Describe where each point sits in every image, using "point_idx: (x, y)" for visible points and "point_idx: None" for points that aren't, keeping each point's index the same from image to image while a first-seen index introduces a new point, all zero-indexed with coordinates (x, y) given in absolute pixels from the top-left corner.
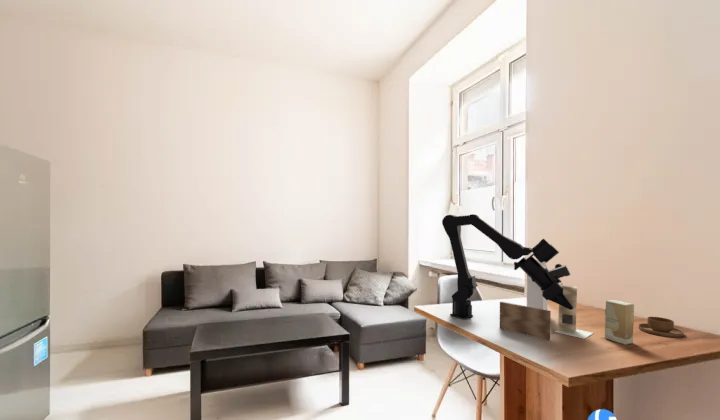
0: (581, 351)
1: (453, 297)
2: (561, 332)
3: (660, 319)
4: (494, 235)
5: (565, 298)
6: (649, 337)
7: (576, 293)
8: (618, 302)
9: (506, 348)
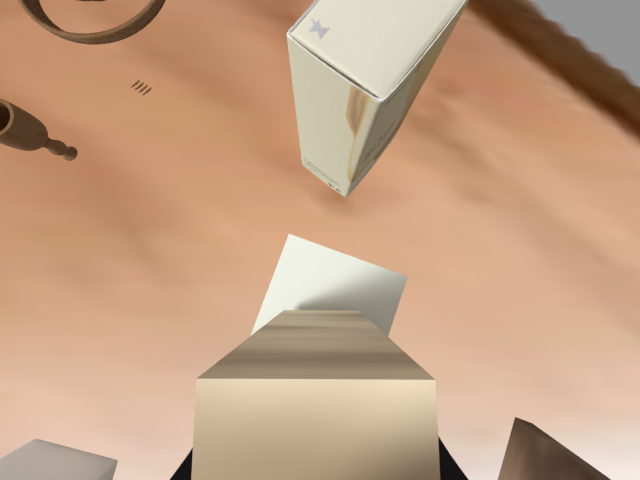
0: (595, 298)
1: None
2: None
3: None
4: None
5: (448, 453)
6: (222, 34)
7: (411, 363)
8: (410, 15)
9: None
